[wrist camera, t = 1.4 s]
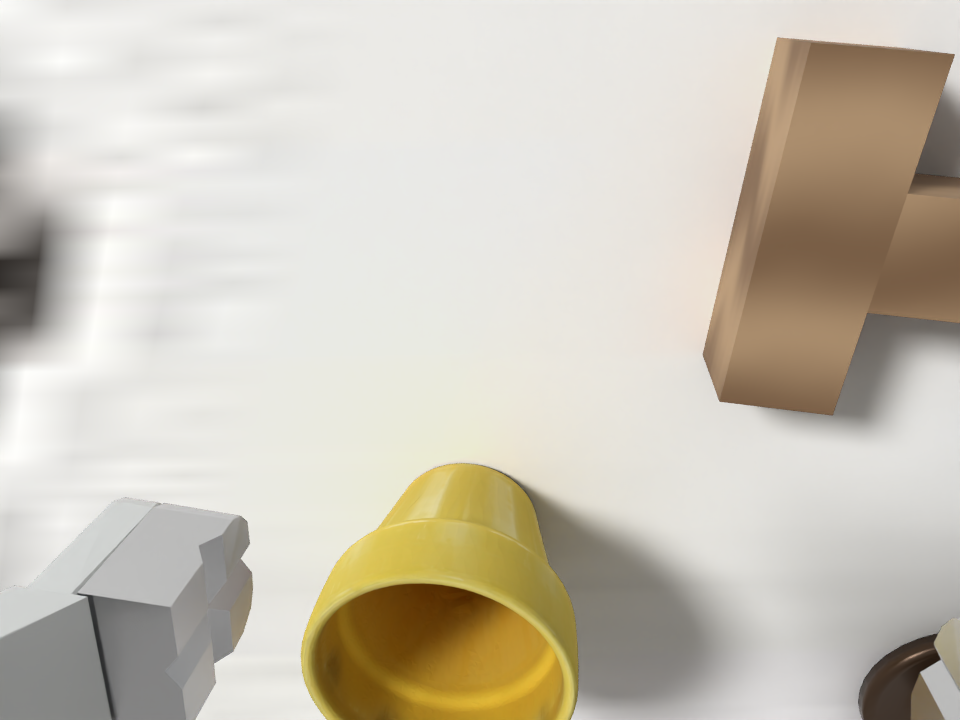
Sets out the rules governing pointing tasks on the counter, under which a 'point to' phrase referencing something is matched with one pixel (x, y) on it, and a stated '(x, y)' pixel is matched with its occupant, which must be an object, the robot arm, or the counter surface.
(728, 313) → the t block
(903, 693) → the candlestick
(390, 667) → the plant pot
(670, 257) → the counter surface
